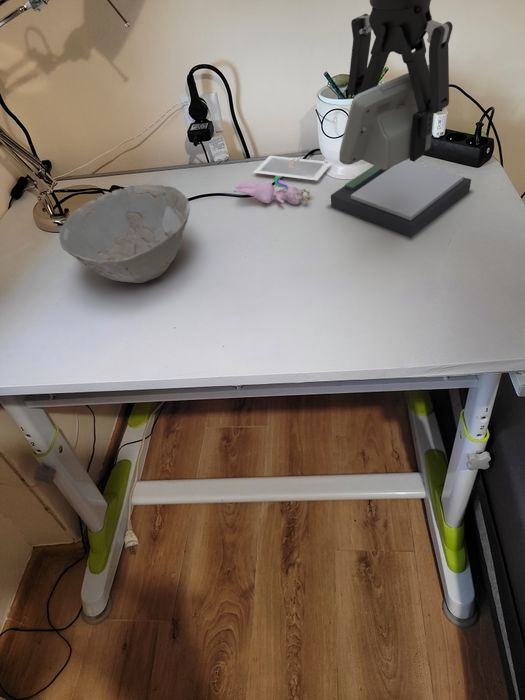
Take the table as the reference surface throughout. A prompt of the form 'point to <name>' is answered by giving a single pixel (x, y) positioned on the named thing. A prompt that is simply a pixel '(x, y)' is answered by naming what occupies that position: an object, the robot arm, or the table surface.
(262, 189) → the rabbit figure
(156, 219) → the ceramic bowl
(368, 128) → the digital clock
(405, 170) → the scale
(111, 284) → the table surface
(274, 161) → the touchpad
